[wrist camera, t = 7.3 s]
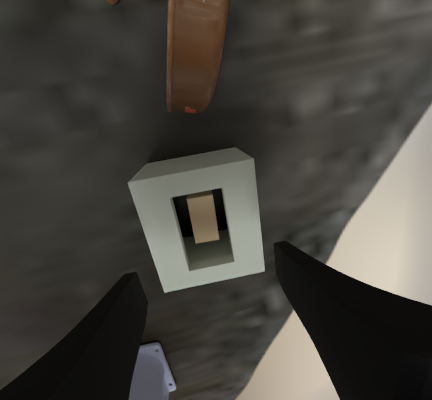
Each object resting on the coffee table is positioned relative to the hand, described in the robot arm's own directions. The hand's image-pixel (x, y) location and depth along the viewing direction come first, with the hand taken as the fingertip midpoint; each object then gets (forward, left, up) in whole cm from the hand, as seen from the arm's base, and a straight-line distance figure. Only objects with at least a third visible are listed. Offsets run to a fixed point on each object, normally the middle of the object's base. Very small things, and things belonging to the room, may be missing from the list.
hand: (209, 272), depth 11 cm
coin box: (0, 0, -10) cm, 10 cm away
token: (0, 0, -10) cm, 10 cm away
